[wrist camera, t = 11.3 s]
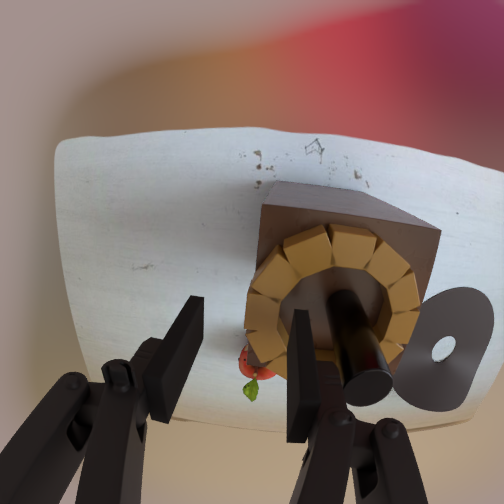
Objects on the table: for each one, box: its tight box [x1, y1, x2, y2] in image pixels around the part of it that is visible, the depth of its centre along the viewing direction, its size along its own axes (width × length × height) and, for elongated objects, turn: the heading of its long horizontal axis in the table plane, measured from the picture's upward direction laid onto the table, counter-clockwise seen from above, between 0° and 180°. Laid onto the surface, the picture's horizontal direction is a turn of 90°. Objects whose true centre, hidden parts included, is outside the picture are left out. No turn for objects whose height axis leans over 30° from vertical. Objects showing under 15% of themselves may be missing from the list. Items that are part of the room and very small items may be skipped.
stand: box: [246, 180, 441, 375], centre depth 29 cm, size 12×12×22 cm
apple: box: [238, 344, 276, 402], centre depth 41 cm, size 8×7×10 cm
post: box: [325, 290, 393, 407], centre depth 15 cm, size 2×2×8 cm
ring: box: [244, 224, 420, 380], centre depth 18 cm, size 11×11×2 cm
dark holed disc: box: [392, 287, 494, 412], centre depth 37 cm, size 25×20×10 cm
